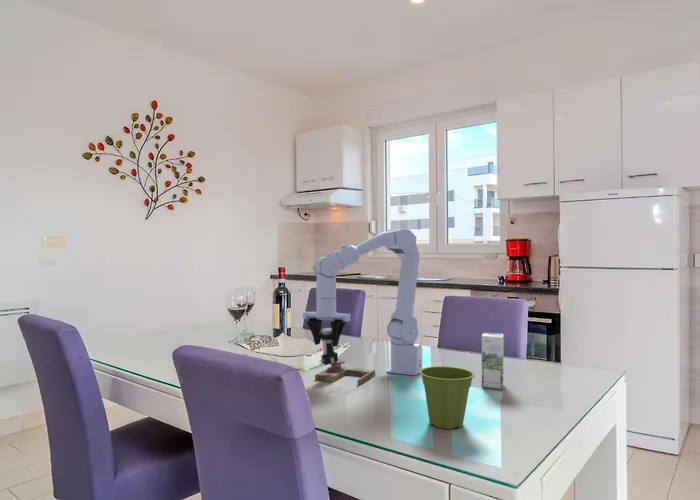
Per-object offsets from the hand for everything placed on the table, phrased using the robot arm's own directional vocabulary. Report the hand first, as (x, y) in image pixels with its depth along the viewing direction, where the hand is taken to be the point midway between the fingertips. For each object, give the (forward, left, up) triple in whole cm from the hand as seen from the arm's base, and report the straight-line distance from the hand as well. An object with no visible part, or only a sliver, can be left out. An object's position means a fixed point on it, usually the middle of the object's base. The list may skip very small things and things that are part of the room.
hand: (326, 345), depth 144 cm
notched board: (-4, -5, -10) cm, 12 cm away
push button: (0, -1, -6) cm, 6 cm away
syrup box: (-45, -13, -10) cm, 48 cm away
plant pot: (-40, +21, -10) cm, 46 cm away
